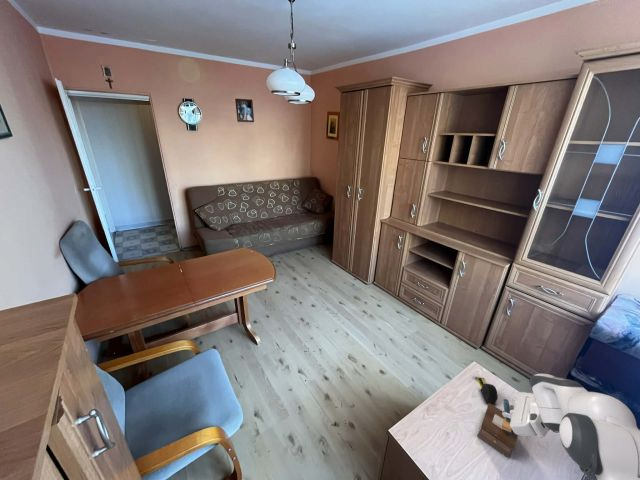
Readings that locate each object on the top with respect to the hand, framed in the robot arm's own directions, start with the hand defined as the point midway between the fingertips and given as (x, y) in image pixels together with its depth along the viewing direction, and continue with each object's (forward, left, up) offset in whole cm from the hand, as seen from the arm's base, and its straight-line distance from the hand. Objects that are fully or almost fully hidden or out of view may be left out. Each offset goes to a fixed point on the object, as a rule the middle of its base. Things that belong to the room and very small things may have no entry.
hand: (503, 411), depth 114 cm
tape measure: (+20, +8, -16) cm, 27 cm away
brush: (0, -4, -7) cm, 8 cm away
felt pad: (0, 0, -8) cm, 8 cm away
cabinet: (0, -1, -16) cm, 16 cm away
